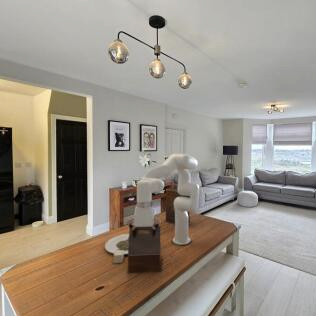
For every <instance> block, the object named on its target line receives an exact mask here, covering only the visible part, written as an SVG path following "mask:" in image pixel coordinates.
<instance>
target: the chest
mask: <svg viewBox="0 0 316 316" xmlns="http://www.w3.org/2000/svg"><path fill="white" fill-rule="evenodd" d="M161 262H162V243H161V242H160V254H144V255H128V254H127V272H128V273H137V272H138V273H141V272H157V271H158V272H159V271H161Z"/></svg>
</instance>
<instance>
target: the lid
mask: <svg viewBox="0 0 316 316" xmlns="http://www.w3.org/2000/svg"><path fill="white" fill-rule="evenodd" d="M161 229H162V228H161V226H160V225H159V226H158V227H157V228H156V232H155V235H154V237H152V230H153V228H152V227H151V226H146V227H136V236H135V238H133V236H132V229H131V228H130V227H129V232H128V233H129V247H128V254H127V256H128V255H144V254H160V243H161Z"/></svg>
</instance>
